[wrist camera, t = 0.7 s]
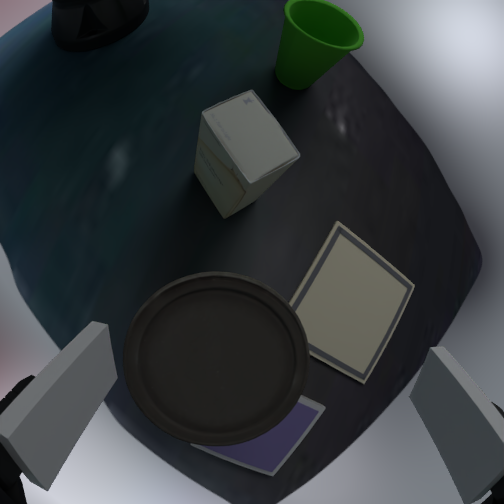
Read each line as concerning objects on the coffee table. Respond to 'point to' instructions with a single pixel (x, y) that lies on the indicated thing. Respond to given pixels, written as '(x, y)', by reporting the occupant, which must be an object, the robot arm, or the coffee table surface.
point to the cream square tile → (350, 303)
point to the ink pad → (272, 440)
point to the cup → (314, 41)
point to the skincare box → (240, 152)
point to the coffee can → (216, 358)
